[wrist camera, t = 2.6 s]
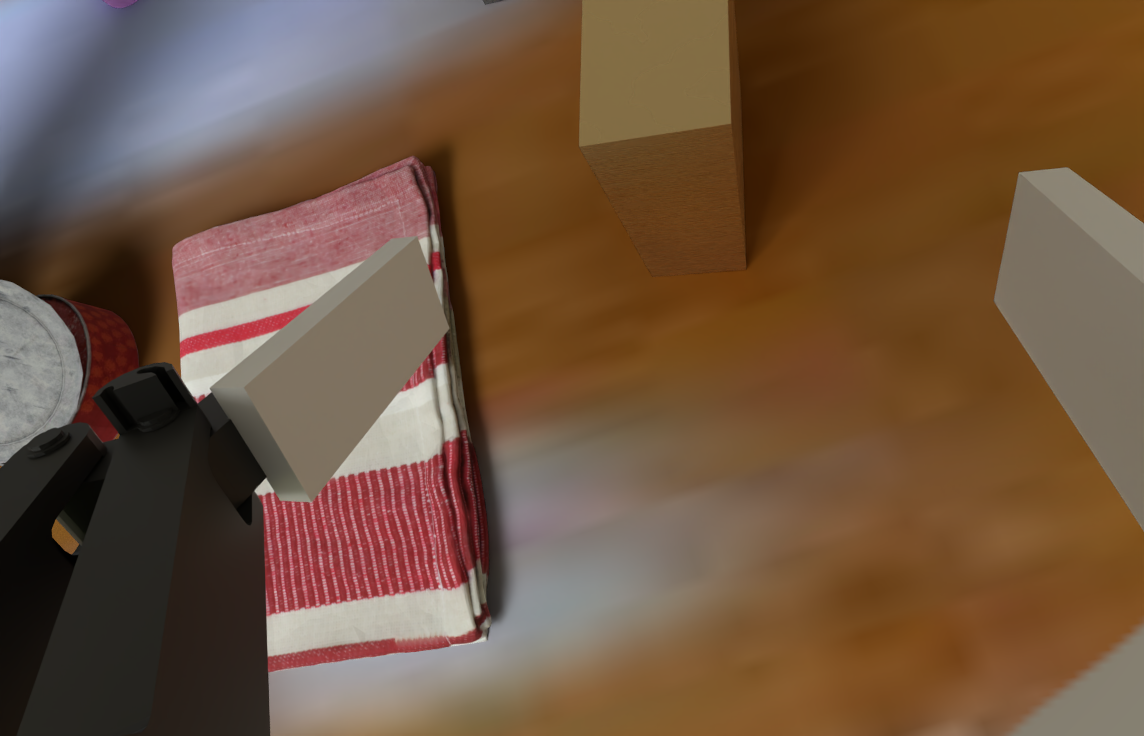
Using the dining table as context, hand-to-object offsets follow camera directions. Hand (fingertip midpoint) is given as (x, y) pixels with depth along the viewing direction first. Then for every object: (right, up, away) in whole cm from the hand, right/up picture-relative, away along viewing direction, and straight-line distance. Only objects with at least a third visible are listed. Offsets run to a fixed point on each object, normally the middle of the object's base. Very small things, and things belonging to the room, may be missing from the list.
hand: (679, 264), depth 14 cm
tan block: (+3, +6, +13) cm, 14 cm away
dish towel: (-15, -5, +17) cm, 24 cm away
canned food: (-32, -4, +23) cm, 40 cm away
